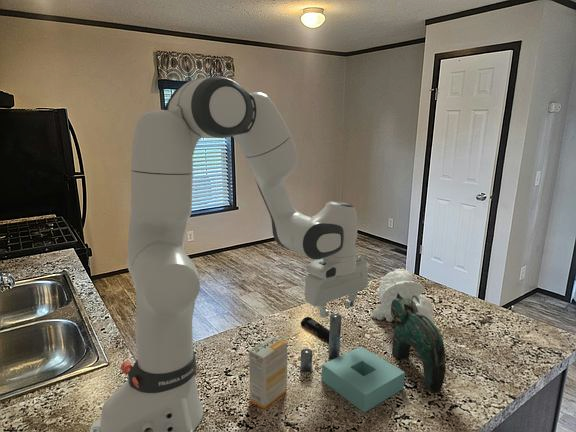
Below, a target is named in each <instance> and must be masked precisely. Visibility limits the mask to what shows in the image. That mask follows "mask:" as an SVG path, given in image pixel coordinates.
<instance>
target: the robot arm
mask: <svg viewBox="0 0 576 432" xmlns="http://www.w3.org/2000/svg"><path fill="white" fill-rule="evenodd" d="M201 138H205V139H214V138H215V139H216V138H217V139H225V138H233V139H234V140H235V141H236V143H238V146H239V148H240V151H241V153H242V154H243V156H244V158H245V161H247V164H248V167H249V168H250V169H251V172H252V174H253V176H254V179H255V182H256V185H257V188H258V191H259V193H260V195H261V197H262V200H263V202H264V205H265V208H266V209H267V212H268V214H269V218H270V220H271V221H270V222H271V227H272V229H271V230H272V236H273V238H274V241H275V242H276V243H277V245H278V246H280V247H281V248H283V249H284V248H285V249H287V250H291V251H293V252H294V253H296V254H299V255H301V256H303V257H306V258H309V259H311V260H313V261H311V262H309V263H308V264H307V265H306V268H305V269H306V272H307V273H308V275H307V276H306V278H305V284H304V300H305V302H307V304H309V305H311V306H313V307H317V308H318V309H319V316H320V317H321V318H323V319H324V318H327V317H330V316H329V313H330V311H329V309H327V308H326V306H327V303H329V302H332V301H335V300H337V299H340V298H344V297H346V296H348V298H347V299H345V307H347V308H353V307H355V300H356V298H357V297H358V292H359V291H362V290H365V289H367V287H368V285H369V273H368V272H369V271H368V267H367V259H366V258H365V257H364V256H363V255H360V256H357V248H356V241H357V239H358V213H357V211H356V208H355V206H353V205H352V204H350V203H347V202H342V201H337V200H336V201H335V200H333V201H331V200H330V201H327V202H326V203H325V205H324V207H323V208H322V209H321V210H320V211H319V212H317V213H316V214H314V215H313V216H308V215H305V214H303V213H302V212H300V211H299V210H297V209H296V208H295V207H294V206H293V204H292V201H291V198H290V196H289V193H288V191H287V187H286V185H285V180H286V179H288V178H289V177H290V176H292V174H293V173H294V172H295V170H296V168H297V166H298V165H299V164H298V163H299V158H300V157H299V154H298V148H297V146H296V143H295V140H294V138H293V136H292V134H291V131H290V129H289V127H288V126H287V123H286V122H285V120H284V117H283V116H282V115H281V112H280V111H279V109H278V108H277V106H276V104H275V103H274V102H273V101H272V99H271V98H270V97H269V96H268V95H267V94H266V93H263V92H258V91H253V92H247V91H246V90H245V89H244V88H243V87H242V85H240V84H239V83H238V82H236V81H235V80H233V79H230V78H228V77H223V76H211V77H198V78H195V79H192V80H190V81H187V82H185V83H182V84H181V85H179V86H178V87H177V88H175V90H174V91H173V92H172V94H171V96H170V97H169V99H168V101H167V103H166V104H165V106H164V107H163V109H155V110H150V111H147V112H145V113H143V114H142V115H141V116H140V117H138V119H137V121H136V125H135V129H134V134H133V139H132V146H131V148H132V149H131V156H130V157H131V158H130V159H131V161H130V216H129V217H130V218H129V227H128V228H129V229H128V235H127V236H128V240H127V253H126V254H127V255H126V259H127V260H126V265H127V266H126V267H127V270H128V271H129V272H128V273H129V275H130V277H131V280H132V284H133V287H134V290H135V303H136V305H135V307H136V310H135V313H136V314H135V315H136V316H135V325H134V332H135V344H136V361H135V363H134V364H133V365H132V363H131V361H129V360H126V361H123V362H122V363H121V365H120V369H121V371H122V373H123V374H124V375H127V380H126V382H124V383H123V384H122V385H121V386H120V387H119V388H118V389H117V390H116V391H115V392H114V393H113V394H111V395H110V397H108V398H107V399H106V400H105V402H104V403H103V407H102V409H101V413H100V417H99V418H98V419H96V420H94V421H93V423H92V424H91V426H90V428H89V432H194V431H195V430H196V428H197V427H198V425H200V423H201V421H202V419H203V417H204V406H203V404H202V401H201V399H200V397H199V393H198V387H197V382H196V376H197V359H196V352H195V351H194V342H193V341H194V338H193V337H194V336H193V318H194V310H195V305H196V300H197V298H198V296H199V294H200V288H201V282H200V279H199V278H200V277H199V273H198V270H197V267H196V266H195V263H194V261H192V259H191V258H190V257H189V256H188V254H186V251H185V246H184V245H185V244H184V243H185V235H186V230H187V226H188V223H189V219H190V217H191V215H192V212H193V211H192V208H193V179H194V178H193V174H194V172H193V171H194V170H193V169H194V167H193V165H194V161H193V157H194V154H195V153H194V151H195V149H196V146H197V144H198V142H199V141H200V140H201Z"/></svg>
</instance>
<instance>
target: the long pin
mask: <svg viewBox="0 0 576 432" xmlns="http://www.w3.org/2000/svg"><path fill="white" fill-rule="evenodd" d="M341 329H342V315H341V314H339V313H331V314H330V316H329V331H330V334H329V341H328V358H329V359H331V360H333V359H335V358H337V357H339V356H341V355H340V352H341V335H342V334H341V332H342V330H341Z"/></svg>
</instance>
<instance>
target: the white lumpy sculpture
mask: <svg viewBox="0 0 576 432" xmlns="http://www.w3.org/2000/svg"><path fill="white" fill-rule="evenodd" d="M376 292H377V293H376V294H377V296H378V298H379V301H380V305H376V307H375V309H373V311H372V312H371V316H370V317H371V318H373V319H377V320H379V321H382V320H384V319H385V320H386V321H387V322H389V323H390V322H393V321H395V320H394V319H393V318H392V316H391V304H392V301H393V300H394V299H396V297H397V294H400V296H401V297H402V298H410V299H412V297H413V296H414V295H415V296H417V297H418V299H419V302H420V304H419V303H418V301H417V300H416V298H415V297H413V301H414V302H415V304H416V306H417V309H418V312H419V313H420V314H422V315H425V316H426V317H428V318H429V319H430V320H431V321H432V322H433V324H434V322H435V320H434V317H433V316H434V314H435V311H434V307H433V304H432V302H431V301H430V300H429V299H428V298H427V296H426V295H424V294H423V293H424V292H425V287H424V285H422V284H421V283H419V282H417V281H414V276H413V274H412V273H411V272H410V271H409V270H406V269H405V268H400V267H399V268H395V269H394V271H389V272H387V274H385V275H384V277H382V279H381V280H380V282H379V287H378V288H376Z"/></svg>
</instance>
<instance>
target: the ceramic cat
mask: <svg viewBox="0 0 576 432" xmlns="http://www.w3.org/2000/svg"><path fill="white" fill-rule="evenodd" d="M413 297H415V298H416V300H417V301H418V303H419V304H420V302H419V299H418V297H417V296H415V295H414V296H413ZM413 297H412V299H410V298H402V297H401V296H400V294H397V297H396V299H394V300H393V301H392V304H391V316H392V318H393V319H394V320H393V321H394V322H395V325H394V331H393V336H392V348H391V354H392V355H393V356H394V357H395V359H398V360H405V359H409V358H410V350H411V348H413V349H415V351H416V352H417V353H418V355H419V357H420V358H421V361H422V362H421V363H422V368H423V376H424V378H423V379H424V387H425V389H426V390H427V391H428V392H429V393H436V392H441V391H442V388H443V385H444V380H445V375H446V371H447V366H446V350H445V345H444V341H443V337H442V336H441V333H440V331H439V328H437V326H436V325H435V324H434V323H433V322H432V321H431V320H430V319H429V318H428V317H426V316H425V315H422V314H420V313H419V312H418V309H417V306H416V304H415V302H414V301H413Z"/></svg>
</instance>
